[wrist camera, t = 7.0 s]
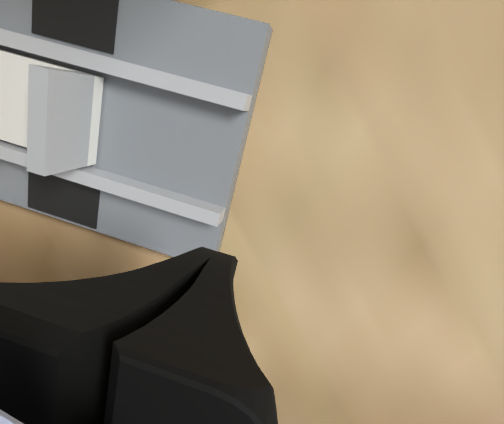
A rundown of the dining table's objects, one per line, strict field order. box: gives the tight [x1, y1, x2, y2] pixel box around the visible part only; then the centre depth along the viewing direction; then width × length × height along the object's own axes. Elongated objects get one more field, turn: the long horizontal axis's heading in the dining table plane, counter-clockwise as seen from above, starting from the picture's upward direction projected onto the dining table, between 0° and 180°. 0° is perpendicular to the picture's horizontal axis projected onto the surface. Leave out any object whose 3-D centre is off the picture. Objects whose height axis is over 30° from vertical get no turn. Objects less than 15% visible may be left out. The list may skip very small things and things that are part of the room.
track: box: [0, 0, 272, 257], centre depth 20 cm, size 14×27×2 cm, turn 76°
